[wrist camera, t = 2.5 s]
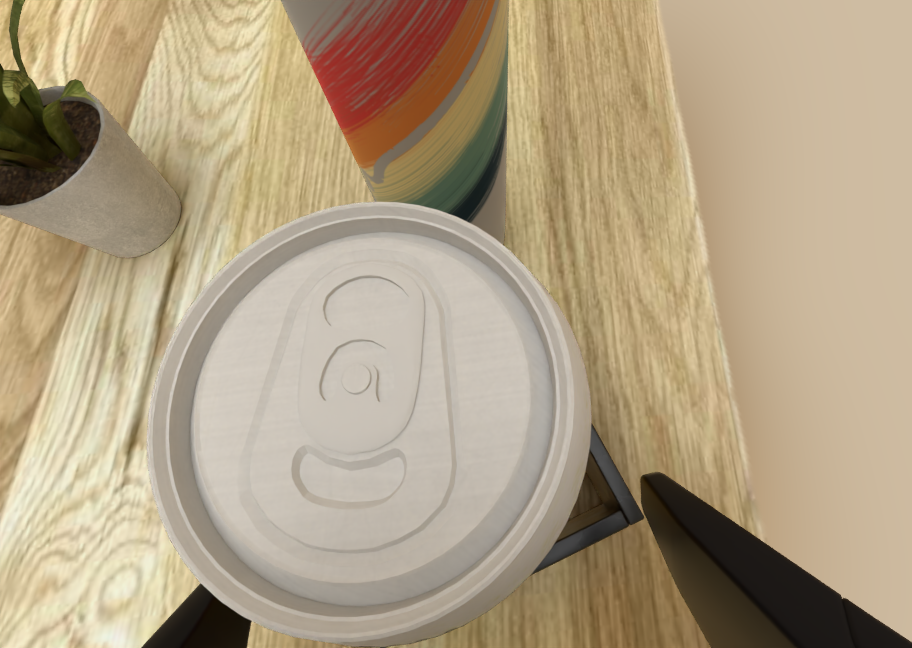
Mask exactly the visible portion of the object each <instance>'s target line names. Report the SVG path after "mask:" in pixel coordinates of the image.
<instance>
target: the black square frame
mask: <svg viewBox="0 0 912 648" xmlns="http://www.w3.org/2000/svg"><path fill="white" fill-rule="evenodd" d="M586 473H587V474H588V476H589V478H590V480H591V482H592V484H593V486H594V488H595V489H596V491H597V493H598V495H599V497H600V499H601V501H602V503H603V504H601V505H599V506H597V507H595V508H593V509H591V510H589V511H587V512H585V513H583V514H581V515H579V516H577V517H575V518H573V519H571V520H569V521H567V523H566V525H565V527H564V528H563V530H562V532H561V533H560V535H559V537H558V538H557V540H556V542H555V543H554V545H553V547H552V548H551V550H550V551H549V552H548V554H547V555H546V556H545V557H544V559H543V560H542V561H541V563H540V564H539V565H538V566H537V568H536V569H535V570H534V572H533V573H532V574H531V575H533V574H535V573H537V572H539V571H541V570H543V569H545V568H547V567H549V566H551V565H553V564H555V563H557V562H559V561H561V560H563V559H565V558H567V557H569V556H571V555H573V554H575V553H577V552H579V551H581V550H583V549H585V548H587V547H589V546H591V545H593V544H595V543H597V542H599V541H601V540H603V539H605V538H607V537H609V536H611V535H613V534H615V533H617V532H619V531H621V530H623V529H625V528H627V527H628V526H629V525H633V524H635V523H637V522H639V521H641V520H643V519H644V516H643V514H642V512H641V510H640V509H639V507H638V505H637V503H636V501H635V500H634V498H633V496H632V494H631V492H630V491H629V489H628V487H627V485H626V484H625V482H624V480H623V478H622V476H621V475H620V473H619V471H618V469H617V467H616V466H615V464H614V462H613V460H612V459H611V457H610V455H609V453H608V451H607V450H606V448H605V446H604V444H603V442H602V441H601V439H600V437H599V435H598V434H597V432H596V430H595V428H594V426H593V425H592V423H591V438H590V449H589V454H588V460H587V465H586ZM531 575H530V576H531ZM380 648H386V647H380Z"/></svg>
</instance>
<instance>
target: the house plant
mask: <svg viewBox="0 0 912 648" xmlns="http://www.w3.org/2000/svg"><path fill="white" fill-rule="evenodd" d="M24 2H25V0H13V5H12V10H11V17H10V27H9V32H10V38H11V44H12V50H13V55H14V58H15V60H16V62H17V65H18V67H19V70H20V71H14V70H4V69H3V68H2V66H1V64H0V214H1V215H4V216H7V217H9V218H12V219H15V220H18V221H20V222H23V223H26V224H29V225H31V226H34V227H37V228H40V229H42V230H45V231H48V232H51V233H53V234H56V235H59V236H62V237H64V238H67V239H70V240H73V241H75V242H78V243H81V244H84V245H87V246H89V247H92V248H95V249H98V250H100V251H103V252H106V253H109V254H111V255H114V256H117V257H123V258H131V257H138V256H141V255H144V254H146V253H149V252H151V251H153V250H154V249H156V248H157V247H159V246H160V245H162V244H163V243H164V242H165V241H166V240H167V239H168V238H169V237H170V235H171V234H172V232H173V231H174V230H175V228H176V226H177V224H178V221H179V219H180V213H181V204H180V199H179V197H178V196H177V194H176V192H175V191H174V190H173V189H172V187H171V186H170V185H169V184H168V183H167V181H166V180H165V179H164V178H163V177H162V175H161V174H160V173H159V172H158V171H157V169H156V168H155V167H154V166H153V165H152V163H151V162H150V161H149V160H148V159H147V157H146V156H145V155H144V154H143V153H142V151H141V150H140V149H139V148H138V146H137V145H136V144H135V143H134V142H133V140H132V139H131V138H130V137H129V136H128V134H127V133H126V132H125V131H124V130H123V128H122V127H121V126H120V125H119V124H118V122H117V121H116V120H115V119H114V118H113V116H112V115H111V114H110V113H109V112H108V110H107V109H106V108H105V107H104V106H103V104H102V103H101V102H100V101H99V100H98V99H97V98H96V97H94V96H93V95H92V94H91V93H89V92H87V91H86V90H85V88H84V86H83V84H82V82H81V81H79V80H76V79H75V80H71V81H69V83H68V84H67V85H66V86H55V87H50V88H44V89H39V90H38V89H37V87H36V85H35V84H34V82H33V81H32V79H30V78H29V77H28V75H27V72H26V70H25V67H24V65H23V62H22V60H21V55H20V49H19V43H18V37H17V33H18V26H19V19H20V14H21V10H22V6H23V4H24Z"/></svg>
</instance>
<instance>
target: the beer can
mask: <svg viewBox="0 0 912 648" xmlns="http://www.w3.org/2000/svg"><path fill="white" fill-rule="evenodd" d="M591 422H592V417H591V400H590V390H589V384H588V379H587V373H586V368H585V365H584V362H583V358H582V355H581V352H580V348H579V345H578V343H577V341H576V338H575V336H574V334H573V332H572V329H571V327H570V325H569V323H568V321H567V319H566V318H565V316H564V314H563V313H562V311H561V309H560V308H559V306H558V304H557V303H556V302H555V300H554V299H553V298H552V296H551V295H550V294H549V292H548V291H547V290H546V288H545V287H544V286H543V285H542V284H541V283H540V282H539V281H538V280H537V279H536V278H535V276H534V275H533V274H532V273H531V272H530V271H529V270H528V269H527V268H526V267H525V266H524V265H523V263H522V262H521V261H520V260H519V259H518V258H517V257H516V256H515V255H514V254H513V253H512V252H511V251H510V250H508V249H507V248H506V247H505V246H504V245H502V244H501V243H500V242H499V241H498V240H496V239H495V238H494V237H492V236H491V235H489V234H487V233H486V232H484V231H483V230H481V229H480V228H478V227H477V226H475V225H473V224H471V223H469V222H467V221H464V220H462V219H460V218H458V217H456V216H453V215H450V214H448V213H445V212H442V211H439V210H436V209H432V208H428V207H424V206H420V205H414V204H406V203H399V202H364V203H353V204H347V205H341V206H336V207H331V208H328V209H324V210H321V211H317V212H313V213H311V214H308V215H305V216H303V217H300V218H298V219H295V220H293V221H291V222H288V223H286V224H284V225H282V226H280V227H278V228H276V229H274V230H273V231H271V232H269V233H268V234H266V235H264V236H263V237H261V238H260V239H258V240H256V241H255V242H253V243H252V244H251V245H249V246H248V247H247V248H245V249H244V250H243V251H241V252H240V253H239V254H237V255H236V256H235V257H234V258H233V259H232V260H231V261H230V262H228V263H227V264H226V265H225V266H224V267H223V268H222V269H221V270H220V271H219V272H218V273H217V274H216V275H215V276H214V277H213V278H212V279H211V280H210V282H209V283H208V284H207V285H206V286H205V287H204V288H203V290H202V291H201V292H200V294H199V295H198V296H197V297H196V299H195V300H194V301H193V303H192V304H191V305H190V307H189V309H188V310H187V312H186V313H185V315H184V317H183V318H182V320H181V321H180V323H179V325H178V326H177V328H176V330H175V332H174V334H173V336H172V338H171V340H170V342H169V344H168V346H167V349H166V351H165V354H164V357H163V359H162V362H161V364H160V367H159V370H158V373H157V377H156V381H155V384H154V388H153V392H152V397H151V403H150V409H149V415H148V429H147V456H148V469H149V475H150V481H151V487H152V492H153V496H154V499H155V502H156V506H157V509H158V513H159V516H160V518H161V521H162V523H163V525H164V527H165V530H166V532H167V534H168V536H169V539H170V541H171V542H172V544H173V546H174V547H175V549H176V551H177V552H178V554H179V555H180V557H181V559H182V560H183V562H184V563H185V565H186V566H187V567H188V568H189V569H190V571H191V572H192V573H193V574H194V576H195V577H196V578H197V579H198V581H199V582H200V583H201V584H202V585H203V586H204V587H205V588H207V589H208V590H209V591H210V592H211V593H212V594H213V595H214V596H215V597H216V598H217V599H218V600H220V601H221V602H222V603H224V604H225V605H227V606H228V607H230V608H231V609H232V610H234V611H235V612H237V613H238V614H240V615H241V616H243V617H245V618H247V619H249V620H251V621H253V622H255V623H257V624H259V625H261V626H263V627H265V628H267V629H270V630H274V631H277V632H280V633H283V634H286V635H289V636H292V637H297V638H303V639H309V640H315V641H321V642H328V643H334V644H340V645H346V646H352V647H388V646H396V645H404V644H411V643H415V642H418V641H422V640H426V639H430V638H434V637H437V636H440V635H442V634H444V633H447V632H449V631H452V630H454V629H456V628H459V627H461V626H464V625H465V624H467V623H469V622H471V621H472V620H474V619H476V618H477V617H479V616H481V615H483V614H484V613H486V612H488V611H489V610H491V609H492V608H493V607H495V606H496V605H497V604H499V603H500V602H501V601H502V600H504V599H505V598H506V597H508V596H509V595H510V594H511V593H513V592H514V591H515V590H516V589H517V588H518V587H519V586H520V585H521V584H522V583H523V582H524V581H525V580H526V579H527V578H528V577H529V576H530V575H531V574H532V573H533V572H534V570H535V569H536V568H537V566H538V565H539V564H540V563H541V561H542V560H543V559H544V557H545V556H546V555H547V554H548V552H549V551H550V550H551V548H552V547H553V545H554V543H555V542H556V540H557V538H558V537H559V535H560V533H561V532H562V530H563V528H564V527H565V525H566V523H567V520H568V518H569V516H570V514H571V511H572V509H573V507H574V505H575V502H576V500H577V498H578V494H579V491H580V488H581V484H582V481H583V478H584V475H585V471H586V465H587V460H588V454H589V449H590V438H591Z"/></svg>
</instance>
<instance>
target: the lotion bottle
mask: <svg viewBox="0 0 912 648" xmlns="http://www.w3.org/2000/svg"><path fill="white" fill-rule="evenodd" d="M281 2H282V4H283V6H284V8H285V10H286V13H287V15H288V17H289V19H290V21H291V23H292V25H293V28H294V30H295V32H296V34H297V36H298V38H299V40H300V43H301V45H302V47H303V49H304V51H305V53H306V55H307V57H308V60H309V62H310V64H311V66H312V68H313V70H314V72H315V75H316V77H317V79H318V81H319V83H320V85H321V87H322V89H323V92H324V94H325V96H326V98H327V100H328V102H329V104H330V106H331V109H332V111H333V113H334V115H335V117H336V119H337V121H338V124H339V126H340V128H341V130H342V132H343V134H344V136H345V138H346V141H347V143H348V145H349V147H350V149H351V151H352V153H353V155H354V158H355V160H356V162H357V164H358V166H359V168H360V170H361V173H362V175H363V177H364V179H365V181H366V183H367V185H368V187H369V190H370V192H371V194H372V196H373V198H374V200H375V202H399V203H406V204H414V205H420V206H424V207H428V208H432V209H436V210H439V211H442V212H445V213H448V214H450V215H453V216H456V217H458V218H460V219H462V220H464V221H467V222H469V223H471V224H473V225H475V226H477V227H478V228H480V229H481V230H483V231H484V232H486V233H487V234H489V235H491V236H492V237H494V238H495V239H496V240H498V241H499V242H500V243H501V244H502V245H503V242H504V236H505V215H506V150H507V81H508V12H509V0H281Z"/></svg>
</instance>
